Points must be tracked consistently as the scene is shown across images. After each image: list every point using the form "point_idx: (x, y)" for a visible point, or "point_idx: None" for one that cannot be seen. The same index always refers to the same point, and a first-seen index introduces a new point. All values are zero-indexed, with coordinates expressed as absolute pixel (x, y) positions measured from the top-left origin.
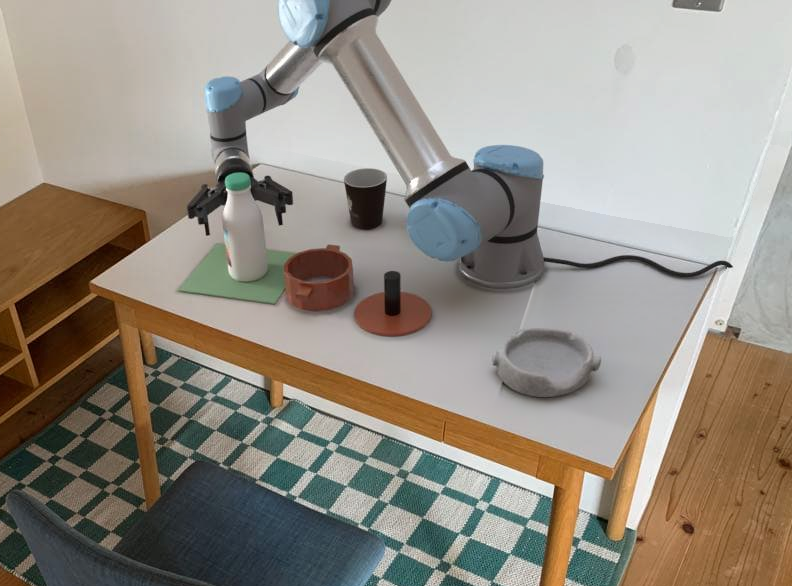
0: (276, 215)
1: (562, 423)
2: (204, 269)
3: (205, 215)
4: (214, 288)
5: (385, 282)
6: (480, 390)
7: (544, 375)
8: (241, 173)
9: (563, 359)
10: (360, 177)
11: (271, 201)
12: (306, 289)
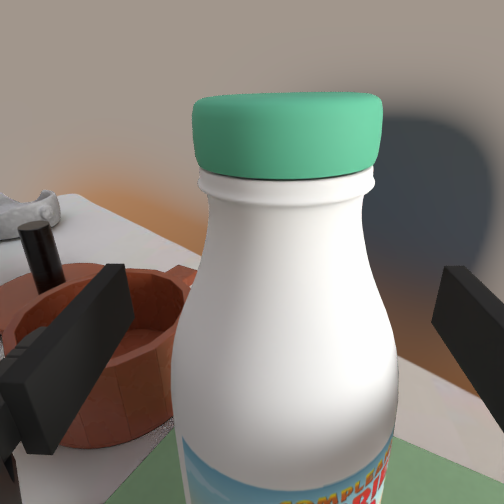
0: (97, 372)
1: (62, 206)
2: None
3: (492, 305)
4: (401, 472)
5: (51, 232)
6: (82, 224)
7: (43, 190)
8: (244, 96)
9: None
10: None
11: (13, 501)
12: (172, 274)
